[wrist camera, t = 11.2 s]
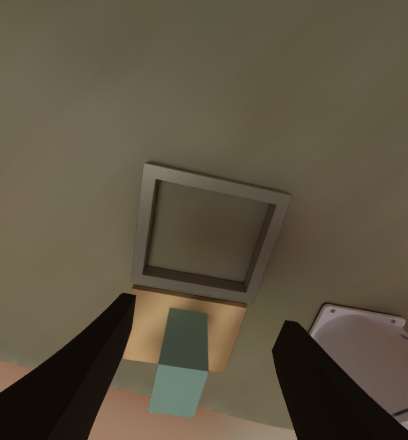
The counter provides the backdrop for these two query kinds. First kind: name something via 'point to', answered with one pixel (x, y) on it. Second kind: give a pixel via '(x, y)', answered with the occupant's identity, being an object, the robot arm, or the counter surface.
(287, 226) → the counter surface
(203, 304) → the board
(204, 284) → the grey flat square frame
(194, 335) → the block
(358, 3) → the counter surface
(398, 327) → the robot arm
